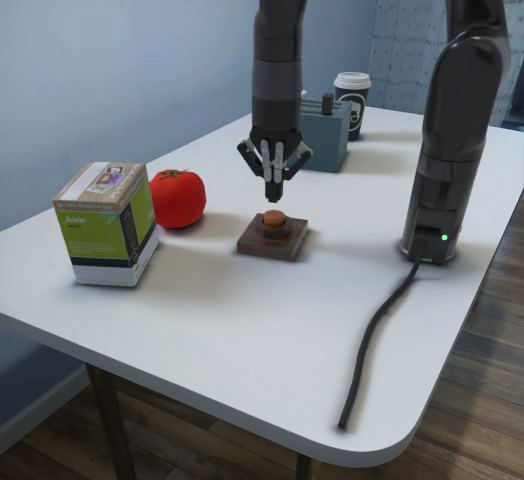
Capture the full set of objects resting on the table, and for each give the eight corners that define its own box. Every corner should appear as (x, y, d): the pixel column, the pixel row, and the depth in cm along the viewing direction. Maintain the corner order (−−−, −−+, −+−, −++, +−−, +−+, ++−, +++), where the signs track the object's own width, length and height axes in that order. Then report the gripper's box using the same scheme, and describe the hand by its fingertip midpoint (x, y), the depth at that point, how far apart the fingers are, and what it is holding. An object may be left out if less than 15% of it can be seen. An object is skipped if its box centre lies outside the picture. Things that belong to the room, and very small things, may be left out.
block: (291, 261, 85) (292, 240, 82) (237, 253, 87) (236, 232, 85) (307, 230, 94) (308, 210, 91) (257, 223, 96) (257, 203, 93)
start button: (281, 229, 86) (281, 219, 85) (261, 226, 87) (261, 217, 86) (286, 220, 89) (286, 211, 88) (267, 217, 90) (267, 208, 89)
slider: (330, 114, 109) (331, 96, 106) (321, 113, 109) (322, 96, 107) (332, 110, 111) (333, 93, 108) (323, 109, 111) (324, 92, 109)
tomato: (221, 221, 96) (218, 168, 90) (167, 243, 90) (159, 188, 83) (187, 203, 103) (182, 152, 96) (134, 222, 96) (124, 169, 89)
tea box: (107, 239, 91) (89, 158, 81) (160, 243, 90) (148, 161, 80) (75, 285, 79) (49, 197, 70) (135, 289, 79) (118, 200, 69)
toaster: (336, 172, 115) (342, 117, 107) (270, 165, 119) (271, 111, 111) (346, 152, 126) (352, 101, 118) (285, 146, 129) (287, 95, 121)
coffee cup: (371, 137, 134) (380, 75, 125) (349, 145, 130) (356, 82, 120) (344, 129, 140) (350, 69, 130) (321, 136, 135) (326, 75, 125)
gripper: (226, 93, 73) (230, 204, 84) (313, 101, 70) (305, 215, 81) (243, 82, 78) (244, 187, 90) (324, 89, 75) (315, 197, 87)
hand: (274, 200), depth 86 cm, fingers closed
